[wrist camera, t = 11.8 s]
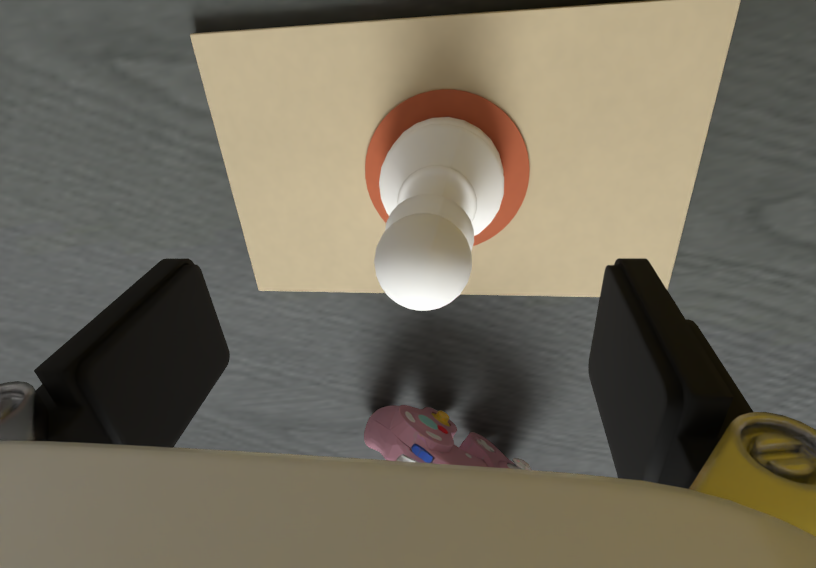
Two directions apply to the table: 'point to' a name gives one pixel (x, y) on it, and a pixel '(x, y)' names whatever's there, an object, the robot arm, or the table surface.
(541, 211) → the mat
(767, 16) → the table surface
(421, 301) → the chess pawn
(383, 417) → the video game controller
